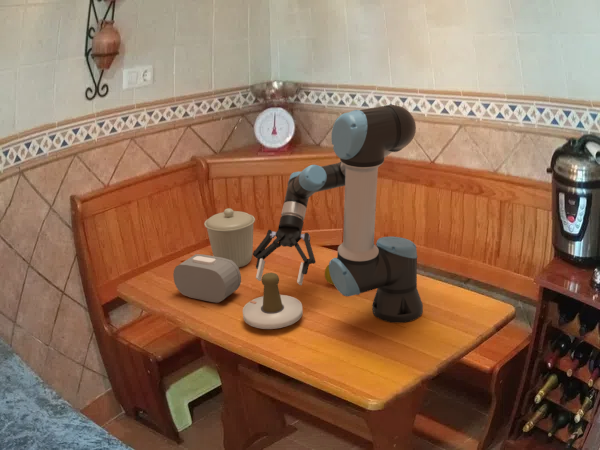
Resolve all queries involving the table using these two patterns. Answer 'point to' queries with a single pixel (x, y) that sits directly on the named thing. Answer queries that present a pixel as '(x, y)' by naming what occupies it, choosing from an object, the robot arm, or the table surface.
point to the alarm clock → (207, 277)
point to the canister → (231, 235)
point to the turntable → (272, 313)
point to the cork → (271, 293)
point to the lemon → (328, 275)
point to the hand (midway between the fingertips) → (278, 281)
